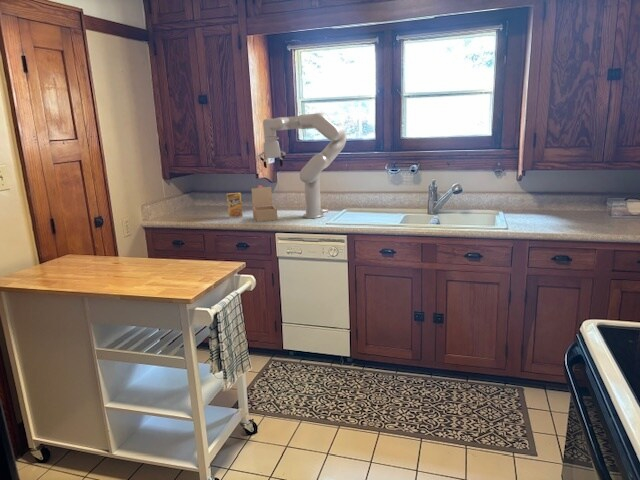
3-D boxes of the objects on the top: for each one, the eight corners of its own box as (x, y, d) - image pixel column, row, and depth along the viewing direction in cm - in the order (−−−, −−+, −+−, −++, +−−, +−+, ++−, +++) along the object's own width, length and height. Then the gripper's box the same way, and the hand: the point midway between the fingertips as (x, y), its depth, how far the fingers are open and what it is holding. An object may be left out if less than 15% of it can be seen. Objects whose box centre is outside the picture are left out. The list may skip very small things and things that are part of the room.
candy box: (229, 218, 309) (226, 194, 306) (228, 217, 313) (226, 193, 310) (242, 216, 312) (241, 193, 308) (241, 215, 316) (240, 192, 312)
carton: (273, 216, 309) (273, 205, 308) (277, 220, 298) (276, 208, 296) (253, 218, 306) (252, 207, 304) (256, 222, 294) (255, 210, 292)
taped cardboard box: (272, 204, 308) (270, 203, 314) (271, 185, 305) (269, 184, 311) (252, 206, 304) (251, 205, 311) (251, 187, 301) (249, 186, 308)
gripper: (283, 138, 305) (285, 165, 309) (255, 140, 301) (258, 168, 305) (285, 138, 298) (288, 166, 302) (257, 140, 294) (260, 169, 298)
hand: (273, 167), depth 303 cm, fingers open, 9 cm apart
